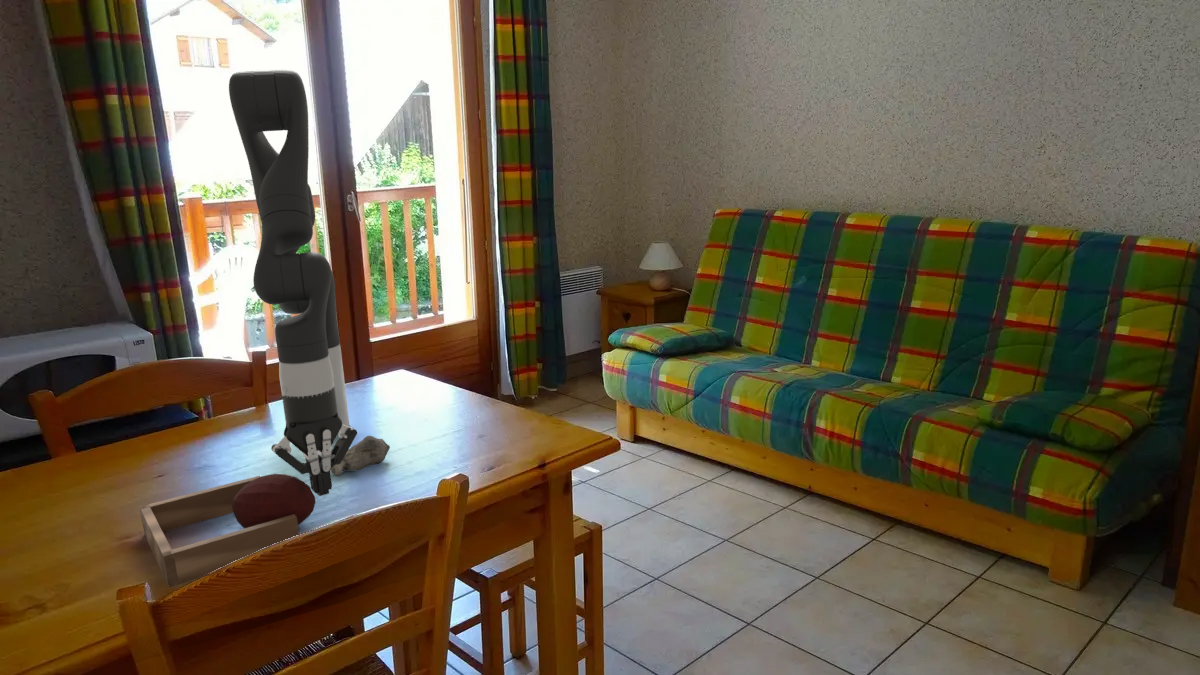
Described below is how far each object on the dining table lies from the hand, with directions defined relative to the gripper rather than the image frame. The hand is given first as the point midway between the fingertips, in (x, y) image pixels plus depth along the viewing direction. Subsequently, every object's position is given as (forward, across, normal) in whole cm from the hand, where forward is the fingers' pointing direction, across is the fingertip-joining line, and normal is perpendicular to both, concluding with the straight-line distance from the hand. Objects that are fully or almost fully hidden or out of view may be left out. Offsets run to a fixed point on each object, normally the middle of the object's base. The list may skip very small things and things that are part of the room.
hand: (322, 493), depth 126 cm
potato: (+4, +7, 0) cm, 8 cm away
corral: (+4, +14, -2) cm, 15 cm away
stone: (+4, -12, -14) cm, 19 cm away
